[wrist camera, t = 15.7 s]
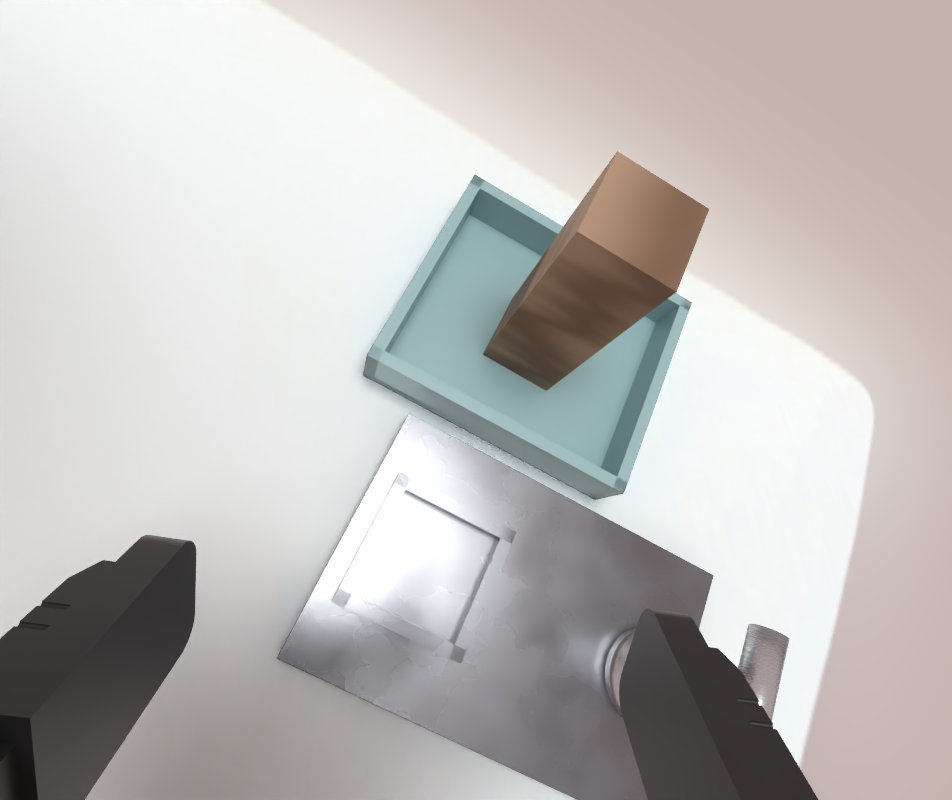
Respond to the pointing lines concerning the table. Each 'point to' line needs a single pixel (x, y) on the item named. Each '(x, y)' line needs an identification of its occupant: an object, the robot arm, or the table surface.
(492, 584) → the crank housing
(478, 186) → the tray
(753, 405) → the table surface
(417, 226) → the table surface
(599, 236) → the tall brown wooden block
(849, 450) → the table surface
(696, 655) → the robot arm
